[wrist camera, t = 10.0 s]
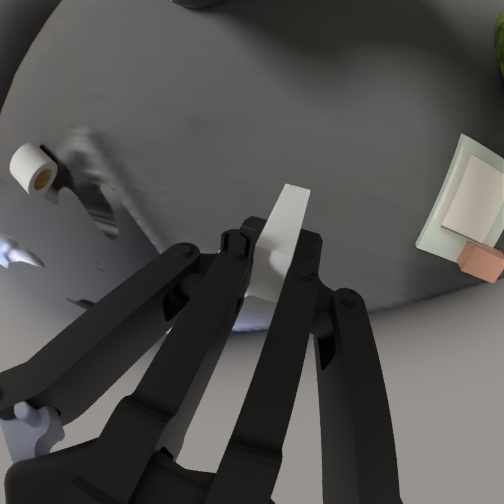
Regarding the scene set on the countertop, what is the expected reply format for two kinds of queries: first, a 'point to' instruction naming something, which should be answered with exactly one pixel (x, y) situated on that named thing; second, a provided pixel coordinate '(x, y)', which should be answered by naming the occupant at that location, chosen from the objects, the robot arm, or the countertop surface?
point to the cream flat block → (472, 199)
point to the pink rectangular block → (481, 261)
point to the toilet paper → (33, 169)
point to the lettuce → (500, 41)
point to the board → (432, 234)
